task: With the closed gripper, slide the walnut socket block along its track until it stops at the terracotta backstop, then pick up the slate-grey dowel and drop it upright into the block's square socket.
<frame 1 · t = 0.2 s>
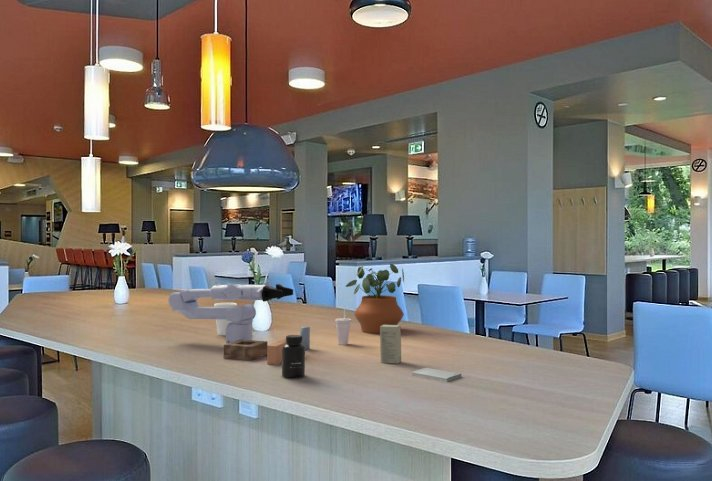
hand: (287, 292, 208), 21 cm above the table, tool horizontal, fingers open, 7 cm apart
smoothie: (343, 344, 221), on the table
supplement bottle: (293, 376, 169), on the table
skincare box: (390, 362, 189), on the table
backstop: (283, 358, 193), on the table
dowel: (304, 348, 211), on the table
foam cup: (225, 334, 243), on the table
hard drive: (436, 378, 170), on the table
pocket block: (245, 349, 198), point 2 cm above the table, slide at 0.0 cm
potted plant: (373, 330, 256), on the table
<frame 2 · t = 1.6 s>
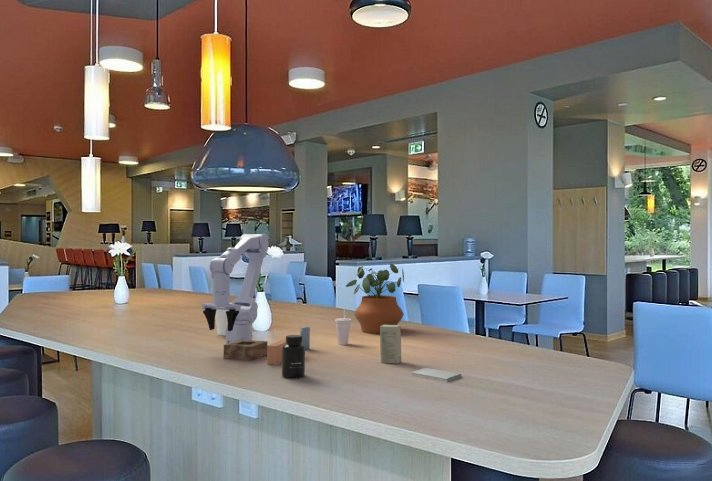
hand: (221, 330, 201), 8 cm above the table, tool pointing down, fingers open, 7 cm apart
nothing on the table moved.
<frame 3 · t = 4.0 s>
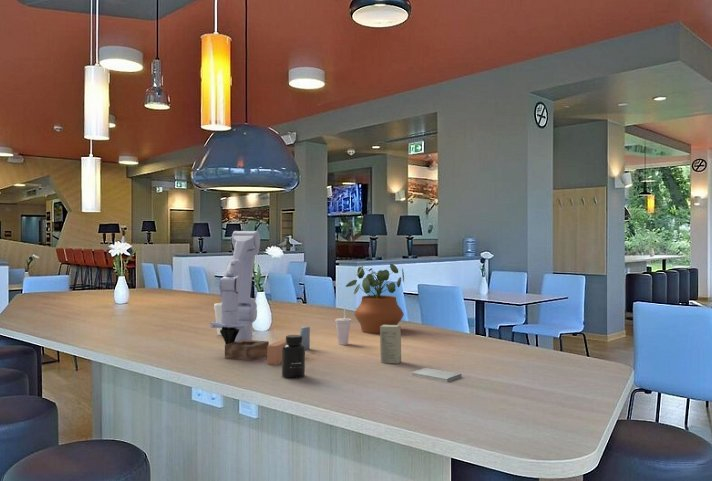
hand: (229, 349, 200), 2 cm above the table, tool pointing down, fingers closed
pocket block: (247, 349, 198), point 2 cm above the table, slide at 0.5 cm, touching gripper
everything else where it was.
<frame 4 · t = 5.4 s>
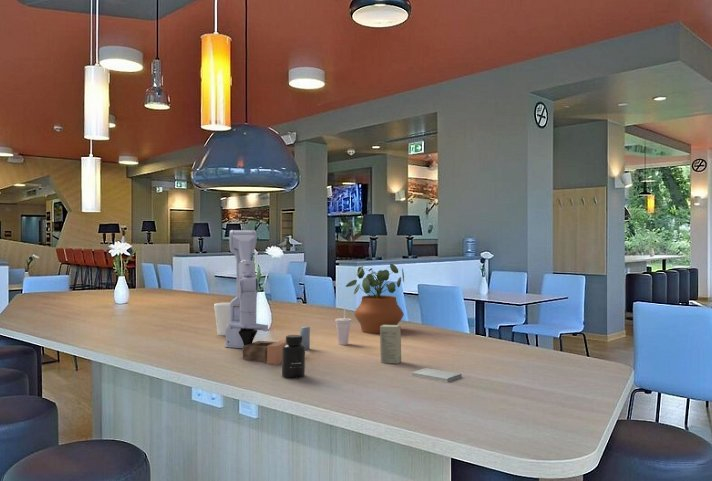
hand: (247, 350, 197), 2 cm above the table, tool pointing down, fingers closed
pocket block: (265, 350, 195), point 2 cm above the table, slide at 7.5 cm, touching backstop, gripper
everything else where it was.
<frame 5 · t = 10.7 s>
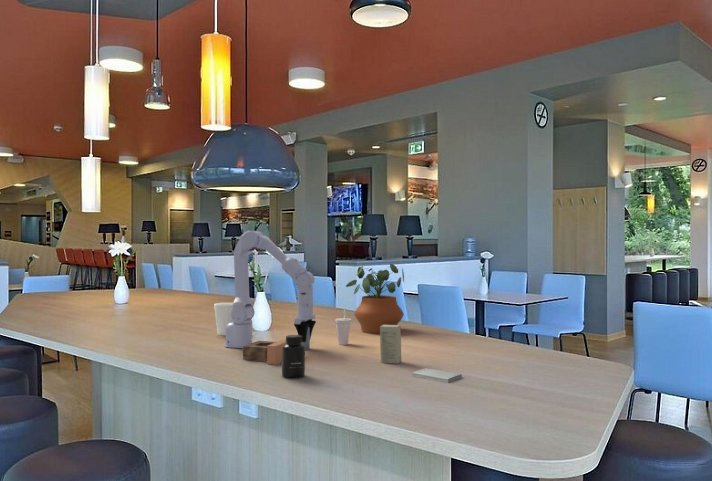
hand: (304, 341, 211), 3 cm above the table, tool pointing down, fingers closed on dowel, 3 cm apart
dowel: (304, 348, 211), on the table, touching gripper
pocket block: (265, 350, 195), point 2 cm above the table, slide at 7.5 cm, touching backstop
everything else where it was.
when the fingers open (6 cm above the table, at t = 16.2 s): dowel drops 2 cm, resting on pocket block.
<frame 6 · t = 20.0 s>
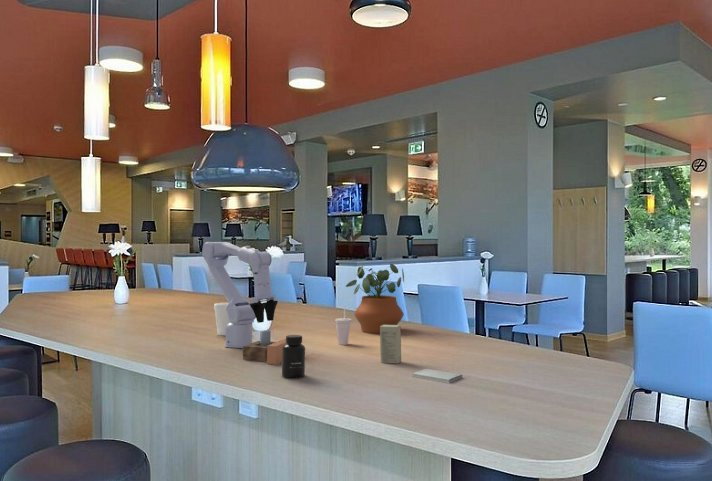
hand: (265, 321, 208), 11 cm above the table, tool pointing down, fingers open, 7 cm apart
dowel: (265, 354, 195), point 1 cm above the table, touching pocket block
pocket block: (265, 350, 195), point 2 cm above the table, slide at 7.5 cm, touching dowel
at the end: pocket block slide at 7.5 cm; dowel 0.0 cm from the target spot, point 1.0 cm above the table; dowel tilted 0° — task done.
